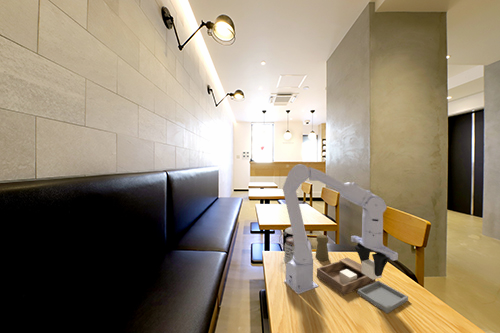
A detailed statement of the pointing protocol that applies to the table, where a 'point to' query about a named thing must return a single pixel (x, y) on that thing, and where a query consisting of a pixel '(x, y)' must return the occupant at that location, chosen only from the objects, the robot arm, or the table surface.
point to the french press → (288, 246)
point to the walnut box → (332, 275)
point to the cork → (322, 248)
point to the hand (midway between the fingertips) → (371, 271)
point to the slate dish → (382, 296)
